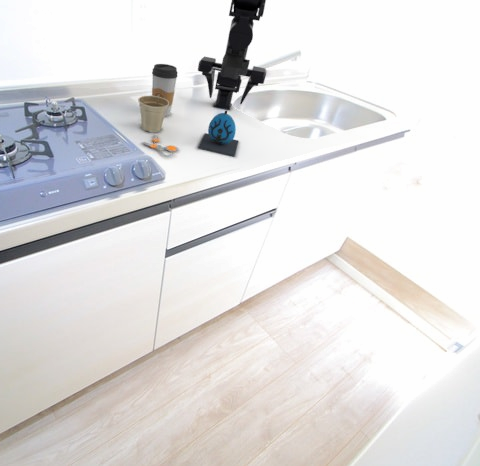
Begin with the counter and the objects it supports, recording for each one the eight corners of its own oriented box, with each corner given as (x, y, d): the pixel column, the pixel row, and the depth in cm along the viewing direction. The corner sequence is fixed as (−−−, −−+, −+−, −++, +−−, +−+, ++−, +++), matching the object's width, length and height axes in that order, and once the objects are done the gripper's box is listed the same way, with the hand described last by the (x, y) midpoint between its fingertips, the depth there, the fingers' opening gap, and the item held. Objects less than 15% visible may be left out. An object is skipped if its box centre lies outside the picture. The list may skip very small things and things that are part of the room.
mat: (204, 134, 105) (204, 133, 105) (238, 142, 104) (238, 140, 104) (197, 148, 97) (198, 146, 97) (234, 156, 96) (234, 155, 95)
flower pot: (172, 130, 105) (175, 103, 99) (151, 137, 99) (153, 109, 93) (151, 120, 109) (154, 93, 103) (130, 126, 103) (131, 98, 98)
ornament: (203, 142, 100) (210, 109, 93) (208, 136, 103) (214, 104, 97) (229, 149, 98) (237, 116, 91) (233, 144, 101) (241, 112, 95)
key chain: (183, 153, 93) (183, 150, 93) (163, 158, 89) (163, 155, 89) (156, 135, 100) (157, 132, 100) (136, 139, 96) (137, 137, 96)
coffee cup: (145, 114, 112) (148, 66, 103) (155, 107, 119) (158, 61, 109) (167, 120, 111) (172, 72, 101) (176, 112, 117) (182, 67, 107)
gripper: (198, 40, 83) (189, 103, 93) (272, 54, 80) (254, 117, 91) (206, 33, 91) (197, 91, 101) (273, 46, 89) (257, 103, 99)
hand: (225, 100), depth 98 cm, fingers open, 9 cm apart
